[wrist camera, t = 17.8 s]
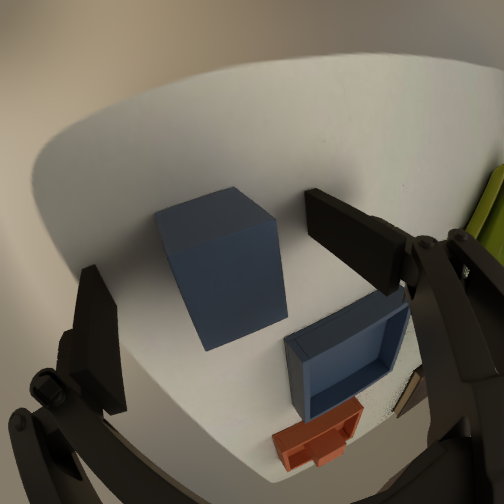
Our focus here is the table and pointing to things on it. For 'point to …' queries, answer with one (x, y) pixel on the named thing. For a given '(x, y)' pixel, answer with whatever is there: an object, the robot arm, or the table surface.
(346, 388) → the blue tray
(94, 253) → the table surface
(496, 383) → the robot arm
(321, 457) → the terracotta block
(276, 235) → the blue block
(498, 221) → the flower pot
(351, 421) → the terracotta tray
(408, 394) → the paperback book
